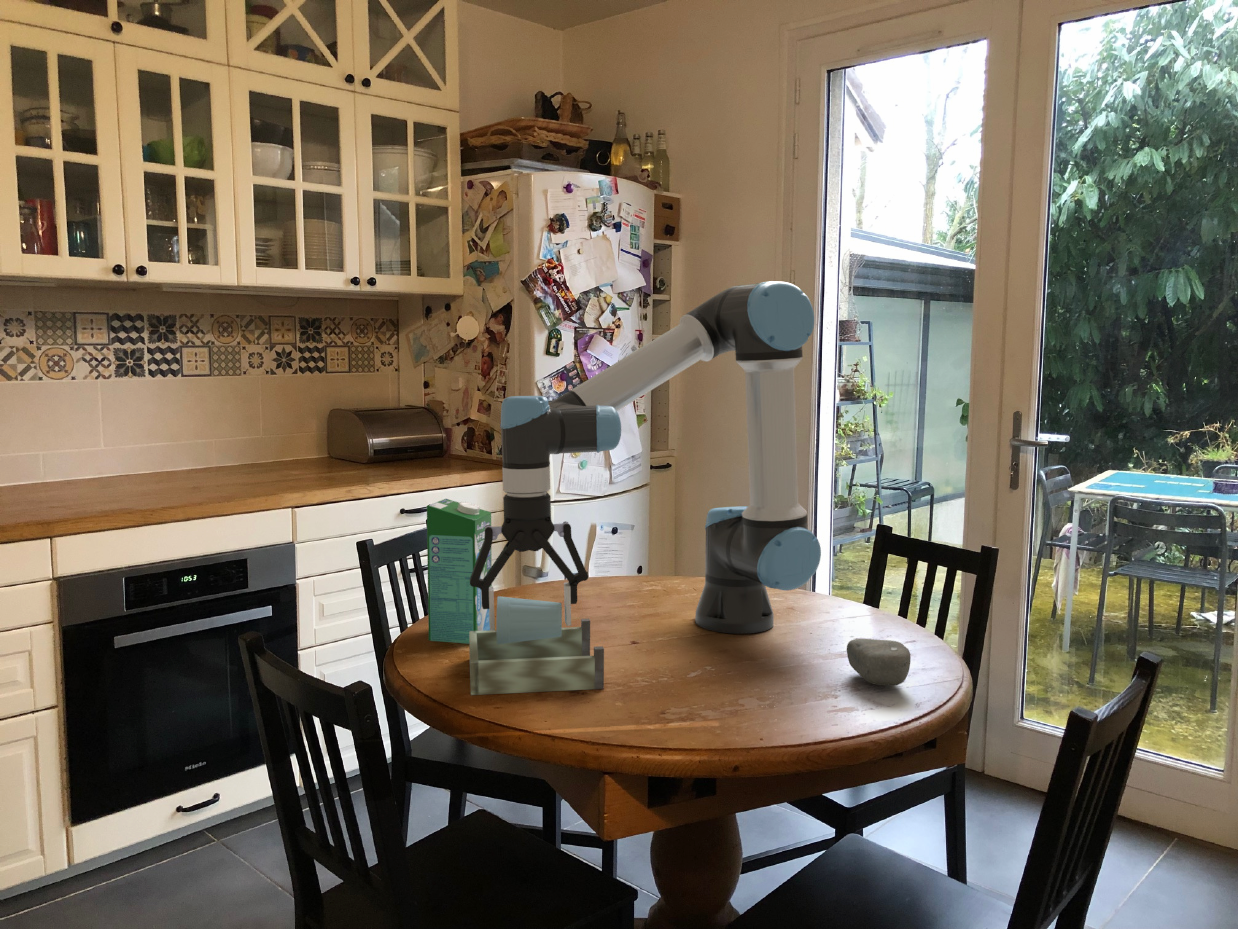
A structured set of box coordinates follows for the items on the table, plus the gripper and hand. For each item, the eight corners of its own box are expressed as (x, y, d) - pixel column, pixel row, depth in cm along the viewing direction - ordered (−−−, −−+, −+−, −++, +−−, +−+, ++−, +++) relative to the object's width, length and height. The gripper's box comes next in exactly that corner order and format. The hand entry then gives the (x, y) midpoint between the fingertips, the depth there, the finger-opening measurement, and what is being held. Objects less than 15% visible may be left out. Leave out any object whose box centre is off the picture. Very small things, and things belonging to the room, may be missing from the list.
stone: (897, 660, 162) (906, 620, 156) (907, 704, 155) (917, 664, 149) (842, 660, 163) (849, 620, 156) (850, 704, 156) (857, 663, 150)
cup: (561, 649, 155) (495, 649, 154) (560, 638, 162) (498, 638, 161) (562, 601, 154) (496, 601, 153) (561, 592, 162) (498, 592, 161)
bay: (588, 654, 169) (589, 618, 168) (603, 689, 152) (604, 649, 151) (469, 659, 165) (469, 623, 165) (470, 695, 148) (470, 654, 148)
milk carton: (475, 645, 174) (474, 507, 171) (428, 642, 176) (426, 505, 173) (492, 631, 183) (491, 499, 180) (446, 628, 184) (445, 497, 182)
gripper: (597, 486, 161) (600, 615, 163) (450, 492, 157) (455, 623, 159) (604, 493, 153) (606, 627, 156) (450, 499, 149) (455, 637, 152)
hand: (530, 625), depth 158 cm, fingers closed on cup, 12 cm apart
